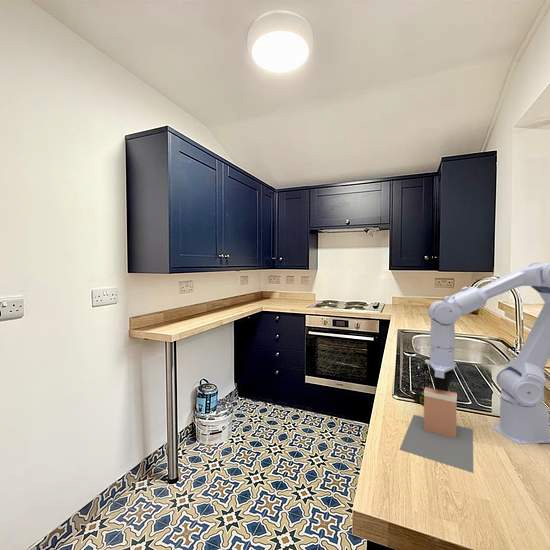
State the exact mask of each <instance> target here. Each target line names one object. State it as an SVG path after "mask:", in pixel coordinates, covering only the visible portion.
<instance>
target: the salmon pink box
mask: <svg viewBox="0 0 550 550" xmlns="http://www.w3.org/2000/svg"><path fill="white" fill-rule="evenodd" d="M457 399H458V394H457V392H452V391H448V392H447V391H442V390H437V389H435V388H431V387H426V386H425V388H424V405H423V417H424V430H426V431H430V432H433V433H437V434H441V435H445V436H448V437H452V438H456V425H457V402H458V401H457Z"/></svg>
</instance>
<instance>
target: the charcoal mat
mask: <svg viewBox="0 0 550 550" xmlns="http://www.w3.org/2000/svg"><path fill="white" fill-rule="evenodd" d="M473 430H474V429H472V428H469V427H465V426H461V425H457V424H456V438H452V437H448V436H445V435H441V434H437V433H433V432H430V431H426V430H424V416H420V415H416V414H413V415H412V417H411V420H410V422H409V425H408V427H407V430H406V433H405V435H404V438H403V440H402V442H401V444H400V448H399V451H403V452H406V453H408V454H411V455H416V456H418V457H422V458H425V459H428V460H430V461H434V462H438V463H441V464H443V465H446V466H450V467H453V468H456V469H460V470H463V471H466V472H469V473H472V474H473V473H474V431H473Z"/></svg>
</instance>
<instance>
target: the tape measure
mask: <svg viewBox="0 0 550 550" xmlns="http://www.w3.org/2000/svg"><path fill="white" fill-rule="evenodd" d="M424 390H425V389H424ZM424 390H421V391H418V392H416V393H415V392H414V394H413V395H412V400H413V401H414V402H415V403H416V404H421V405H422V406H424Z"/></svg>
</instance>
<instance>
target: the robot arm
mask: <svg viewBox="0 0 550 550" xmlns="http://www.w3.org/2000/svg"><path fill="white" fill-rule="evenodd" d="M520 287H531V288H532V289H533V290H535V291H536V293H538V294H539V296H540V297H541V299H542V300H543V302H544V305H543V307H542V308H541V310H540V312H539V313H538V316H537V318H536V320H535V322H534V324H533V325H532V328H531V329H530V331H529V333H528V335H527V337H526V340H525V341H524V343H523V345H522V347H521V349H520V351H518V352H519V353H518V354H517V356H516V358H514V359H512V360H510V361H508V362H507V364H506V365H505V367H504V368H502V369H500V370H499V371H498V373H497V374H496V377H495V380H496V384H497V385H498V387H499V388H500V389H501V391H500V394H499V395H500V399H499V400H500V402H499V404H500V405H499V424H498V425H491V426H490V427H491V429H493V430H495V431H496V432H498V433H500V435H503V436H505V437H506V438H507V439H509V440H511V441H513V442H514V443H515V444H518V445H526V444H527V445H528V444H550V412H549V410H548V408H547V406H546V404H545V403H543V402H542V401H543V399H544V397H545V390H544V389H545V386H546V383H547V378H546V376H545V372H544V369H545V367H546V365H547V363H548V362H549V359H550V262H534V263H530V264H528V265H527V266H526V265H525V266H522V267H519V268H517V269H516V270H514V271H511V272H509V273H507V274H504V275H503V276H501V277H499V278H497V279H495V280H493V281H491V282H489V283H487V284H486V285H484V286H483V285H482V286H481V287H476V286H470V287H468V286H464V287H462V288H460V290H461V291H459V292H455V293H454V294H453V295H450V296H448V295H445V296H444V297H443V300H436V301H434V302H432V303H431V304H430V305H429V307H428V309H427V314H428V316H429V318H430V329H429V332H430V333H429V359H425V360H424V363H425V364H427V365H429V366H430V369H429V370H428V371H429V375H430V376H431V379H432V381H433V385H434V389H437V390H442V391H447V392H449V386H450V383H451V381H452V380H453V378H454V376H455V368H456V363H455V348H456V347H455V343H456V342H455V341H456V330H455V325H456V324H455V323H456V322H457V321H458V320H459V317H463V316H467V314H470V313H472V312H474V311H477V310H479V309H481V308H484V307H486V305H487V302H488V300H489V299H491V298H492V299H493V298H494V297H496V296H499V295H503V294H505V293H507V292H509V291H512V290H514V289H516V288H517V289H518V288H520Z"/></svg>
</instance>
